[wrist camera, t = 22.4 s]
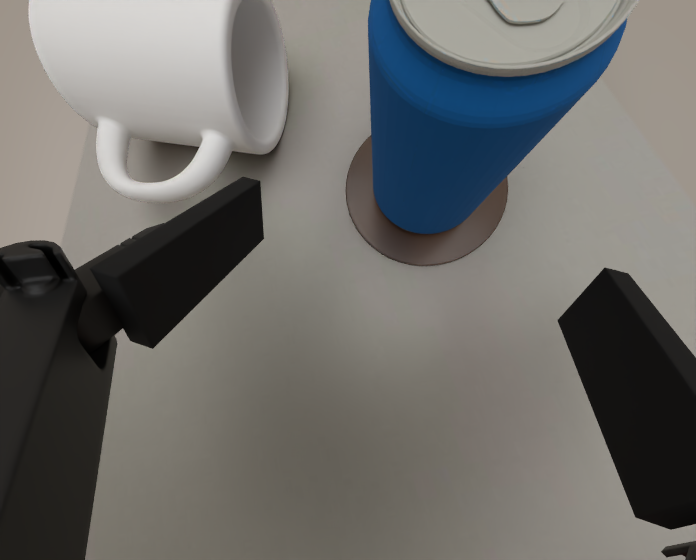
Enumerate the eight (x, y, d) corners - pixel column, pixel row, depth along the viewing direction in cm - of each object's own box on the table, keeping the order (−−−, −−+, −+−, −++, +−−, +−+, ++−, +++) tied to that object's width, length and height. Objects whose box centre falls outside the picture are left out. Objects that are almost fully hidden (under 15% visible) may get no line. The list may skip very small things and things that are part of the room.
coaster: (332, 250, 19) (331, 248, 18) (363, 108, 20) (362, 104, 19) (491, 280, 18) (494, 279, 17) (516, 127, 18) (519, 123, 18)
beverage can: (446, 121, 19) (568, -217, 7) (498, 207, 18) (747, -11, 6) (356, 168, 19) (320, -79, 7) (402, 255, 18) (452, 141, 6)
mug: (169, 60, 22) (51, -85, 14) (297, 71, 20) (248, -80, 13) (129, 213, 21) (-25, 151, 13) (262, 235, 19) (183, 181, 11)
